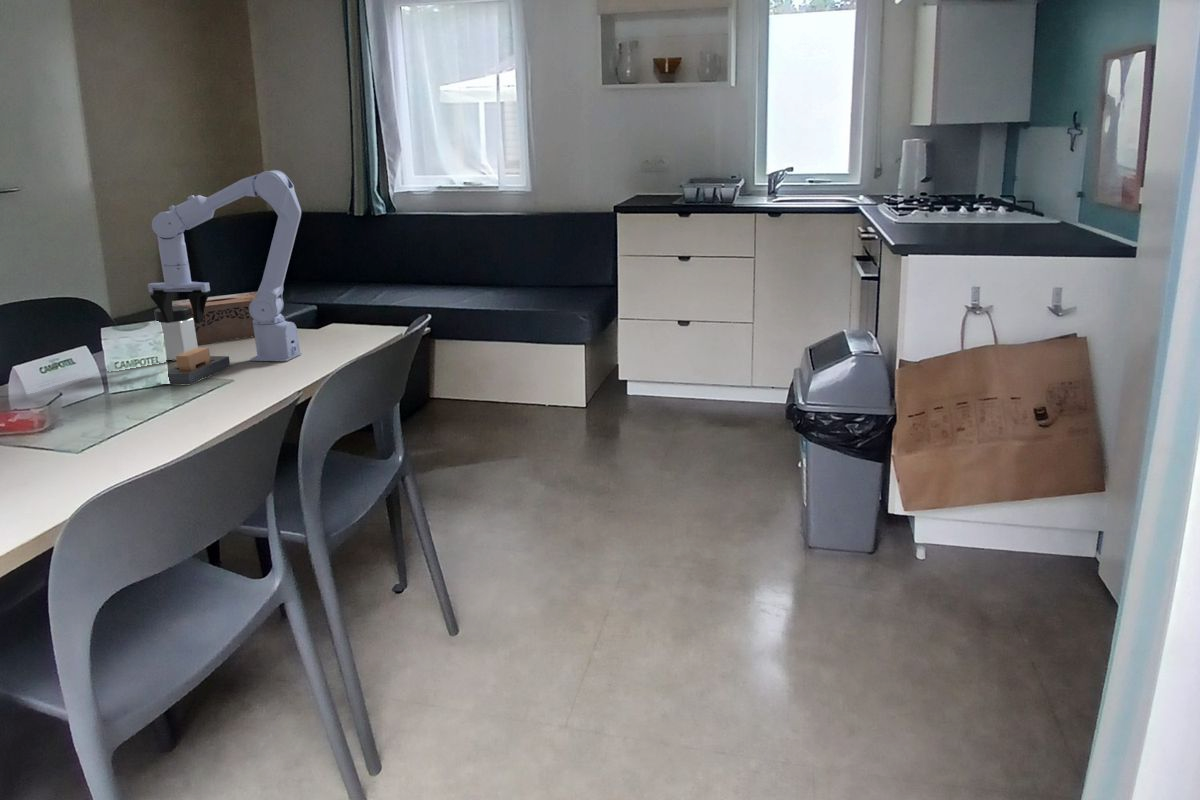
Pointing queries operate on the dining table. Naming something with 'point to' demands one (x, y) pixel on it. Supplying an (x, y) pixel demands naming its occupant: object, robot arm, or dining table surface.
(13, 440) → the dining table surface
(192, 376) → the grey slotted tray
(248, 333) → the tissue box cover
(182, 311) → the jar
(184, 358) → the tan block
